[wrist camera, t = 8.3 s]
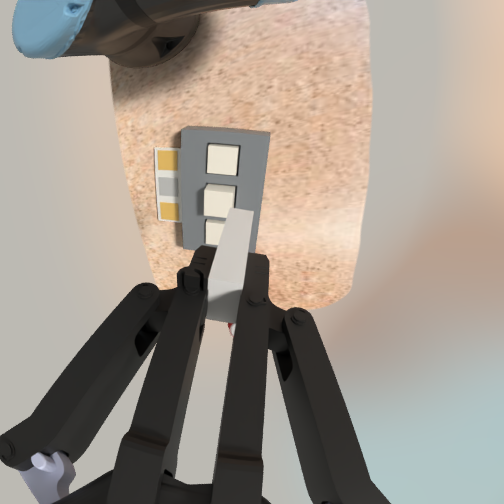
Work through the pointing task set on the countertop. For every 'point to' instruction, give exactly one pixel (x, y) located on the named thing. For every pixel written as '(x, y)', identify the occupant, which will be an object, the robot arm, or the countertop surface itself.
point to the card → (168, 183)
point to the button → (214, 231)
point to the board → (220, 178)
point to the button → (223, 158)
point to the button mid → (218, 200)
